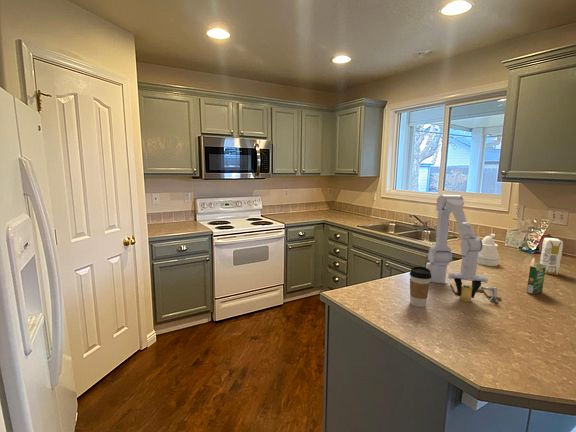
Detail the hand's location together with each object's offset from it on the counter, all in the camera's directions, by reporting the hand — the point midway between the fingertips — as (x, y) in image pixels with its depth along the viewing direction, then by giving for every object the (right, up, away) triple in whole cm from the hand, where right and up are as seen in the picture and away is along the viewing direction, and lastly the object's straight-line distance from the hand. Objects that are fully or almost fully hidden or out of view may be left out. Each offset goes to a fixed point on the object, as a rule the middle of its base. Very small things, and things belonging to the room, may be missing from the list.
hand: (465, 296), depth 137 cm
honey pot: (+44, +6, +57) cm, 72 cm away
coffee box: (+38, -1, +10) cm, 39 cm away
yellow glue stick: (0, -2, 0) cm, 2 cm away
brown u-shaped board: (+9, -1, +9) cm, 13 cm away
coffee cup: (-23, -2, -5) cm, 23 cm away
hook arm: (+10, -2, 0) cm, 10 cm away
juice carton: (+69, +3, +41) cm, 81 cm away
